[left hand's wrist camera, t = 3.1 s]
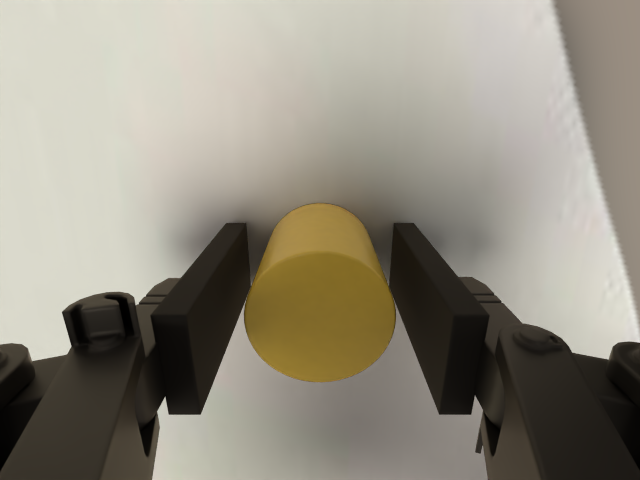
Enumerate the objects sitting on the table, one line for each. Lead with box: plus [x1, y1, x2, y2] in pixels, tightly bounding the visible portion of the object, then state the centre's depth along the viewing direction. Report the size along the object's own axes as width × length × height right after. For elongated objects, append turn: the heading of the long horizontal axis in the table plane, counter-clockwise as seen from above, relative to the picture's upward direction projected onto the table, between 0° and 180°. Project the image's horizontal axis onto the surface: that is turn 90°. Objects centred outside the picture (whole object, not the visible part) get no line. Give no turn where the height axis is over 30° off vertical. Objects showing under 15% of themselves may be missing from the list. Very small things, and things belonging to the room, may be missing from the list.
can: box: [244, 203, 396, 382], centre depth 12 cm, size 4×4×5 cm
